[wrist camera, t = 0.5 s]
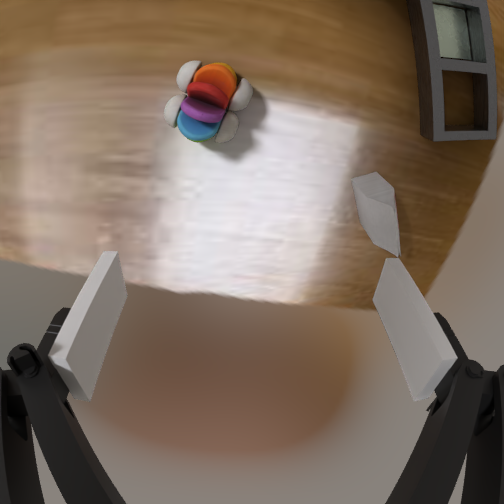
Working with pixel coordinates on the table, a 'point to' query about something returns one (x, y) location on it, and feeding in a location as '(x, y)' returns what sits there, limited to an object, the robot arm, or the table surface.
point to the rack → (454, 64)
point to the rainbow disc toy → (207, 102)
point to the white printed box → (378, 211)
